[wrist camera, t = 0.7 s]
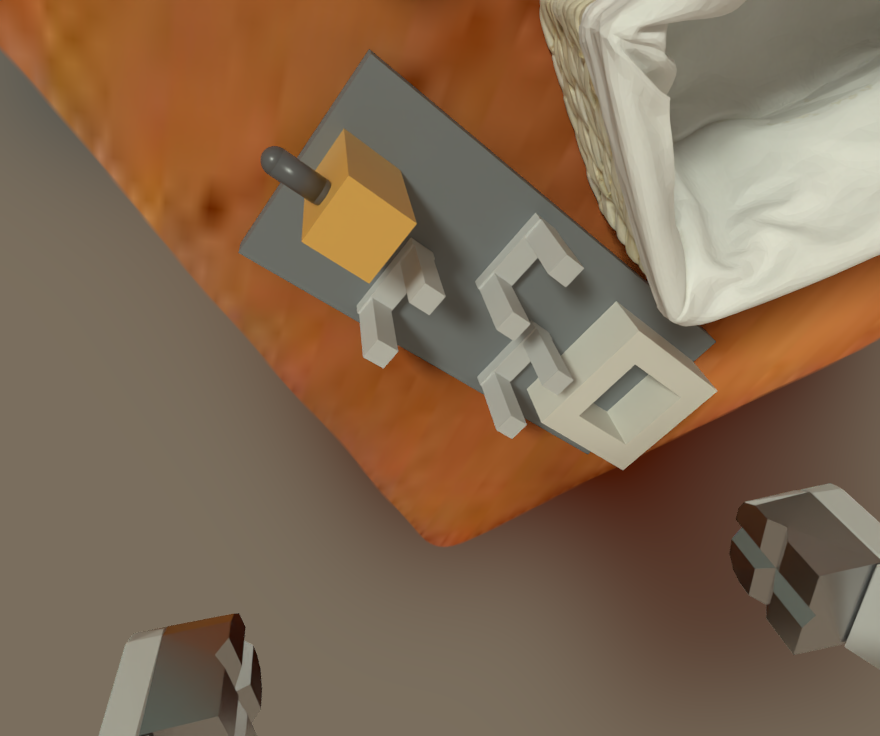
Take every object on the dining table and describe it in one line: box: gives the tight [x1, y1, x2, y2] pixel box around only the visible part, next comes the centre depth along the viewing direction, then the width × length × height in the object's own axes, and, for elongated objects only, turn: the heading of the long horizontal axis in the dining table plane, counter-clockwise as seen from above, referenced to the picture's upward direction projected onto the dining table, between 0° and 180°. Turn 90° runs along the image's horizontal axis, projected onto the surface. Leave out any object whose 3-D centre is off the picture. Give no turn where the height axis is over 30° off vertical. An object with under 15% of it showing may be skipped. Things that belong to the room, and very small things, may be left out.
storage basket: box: [540, 0, 880, 326], centre depth 30 cm, size 24×16×15 cm
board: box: [239, 49, 717, 470], centre depth 41 cm, size 14×33×8 cm, turn 51°
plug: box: [261, 129, 417, 283], centre depth 32 cm, size 4×7×8 cm, turn 51°
